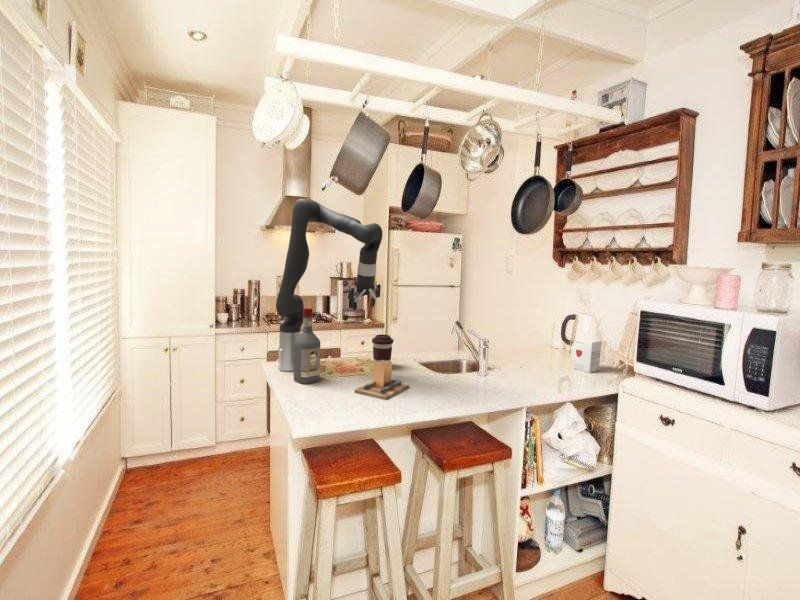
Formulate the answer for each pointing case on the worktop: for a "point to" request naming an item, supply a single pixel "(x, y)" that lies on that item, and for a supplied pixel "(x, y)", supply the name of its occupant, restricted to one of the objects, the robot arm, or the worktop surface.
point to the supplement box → (587, 355)
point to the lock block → (382, 374)
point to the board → (383, 393)
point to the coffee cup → (382, 347)
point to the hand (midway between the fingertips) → (363, 307)
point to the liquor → (307, 352)
